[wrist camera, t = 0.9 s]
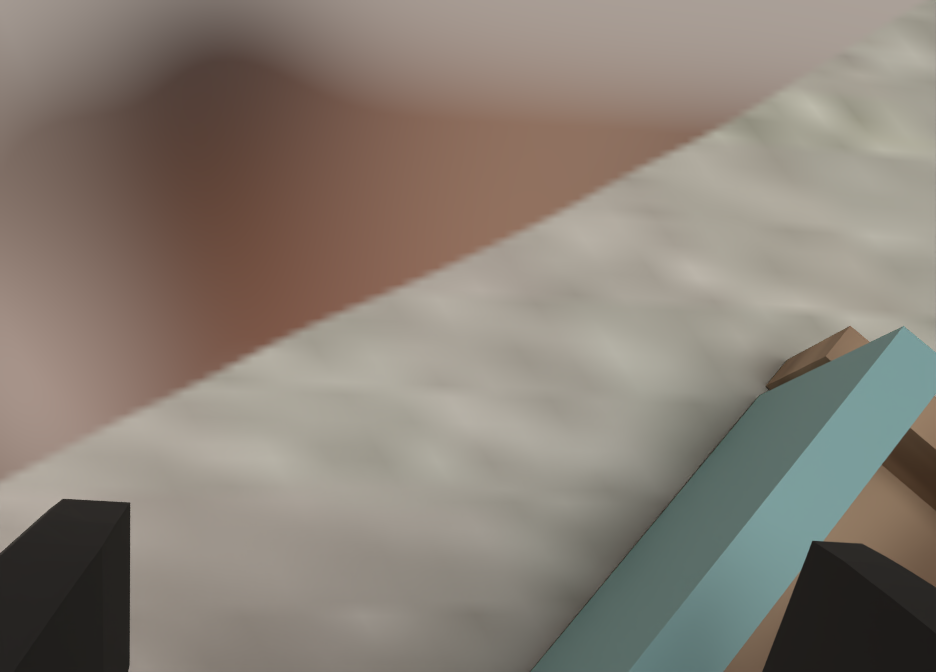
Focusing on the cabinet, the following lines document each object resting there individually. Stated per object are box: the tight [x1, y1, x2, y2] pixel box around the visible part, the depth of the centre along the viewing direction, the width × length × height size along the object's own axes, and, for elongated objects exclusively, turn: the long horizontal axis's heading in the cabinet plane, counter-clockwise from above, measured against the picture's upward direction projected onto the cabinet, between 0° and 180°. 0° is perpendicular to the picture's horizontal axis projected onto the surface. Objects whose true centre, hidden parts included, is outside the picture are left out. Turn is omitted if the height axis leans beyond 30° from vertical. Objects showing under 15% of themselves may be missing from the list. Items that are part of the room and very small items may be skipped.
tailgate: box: [531, 326, 936, 672], centre depth 18 cm, size 1×12×7 cm, turn 138°
